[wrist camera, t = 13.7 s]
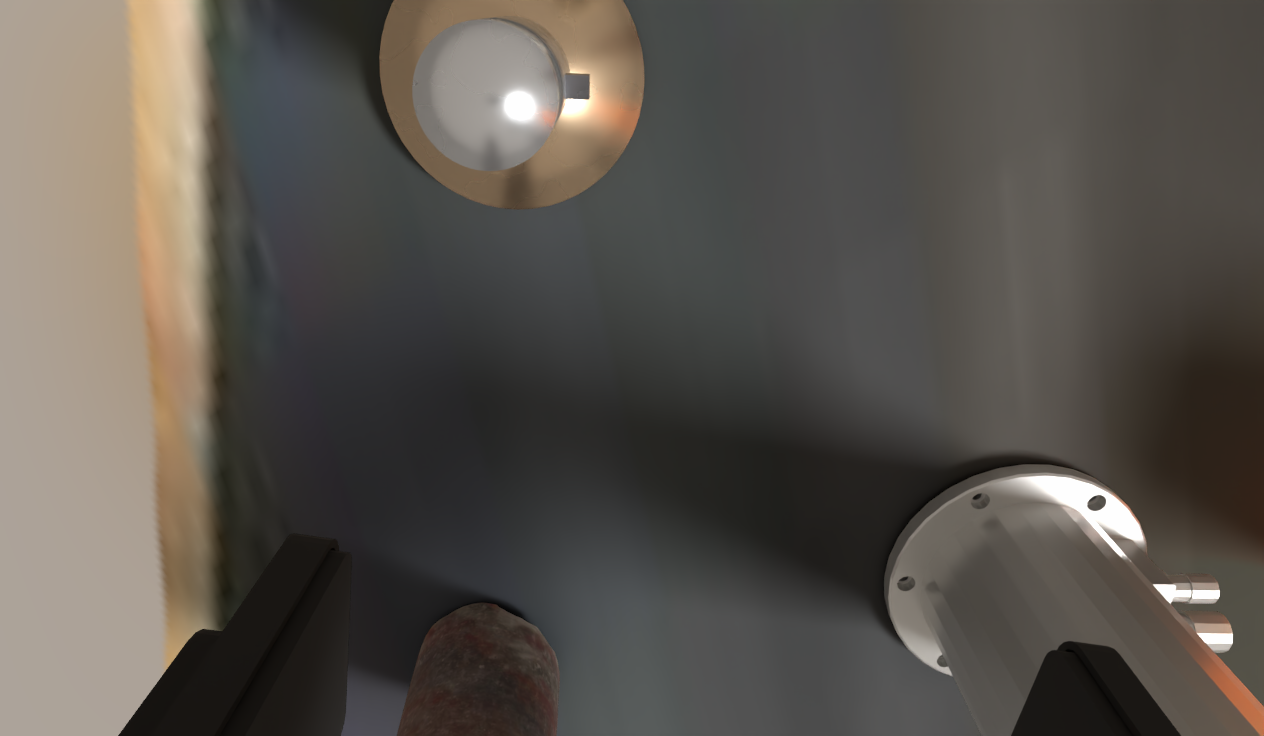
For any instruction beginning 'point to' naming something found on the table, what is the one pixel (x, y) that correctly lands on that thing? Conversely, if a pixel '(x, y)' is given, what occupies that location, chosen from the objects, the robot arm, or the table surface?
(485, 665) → the candle
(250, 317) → the table surface
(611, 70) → the beige piece
